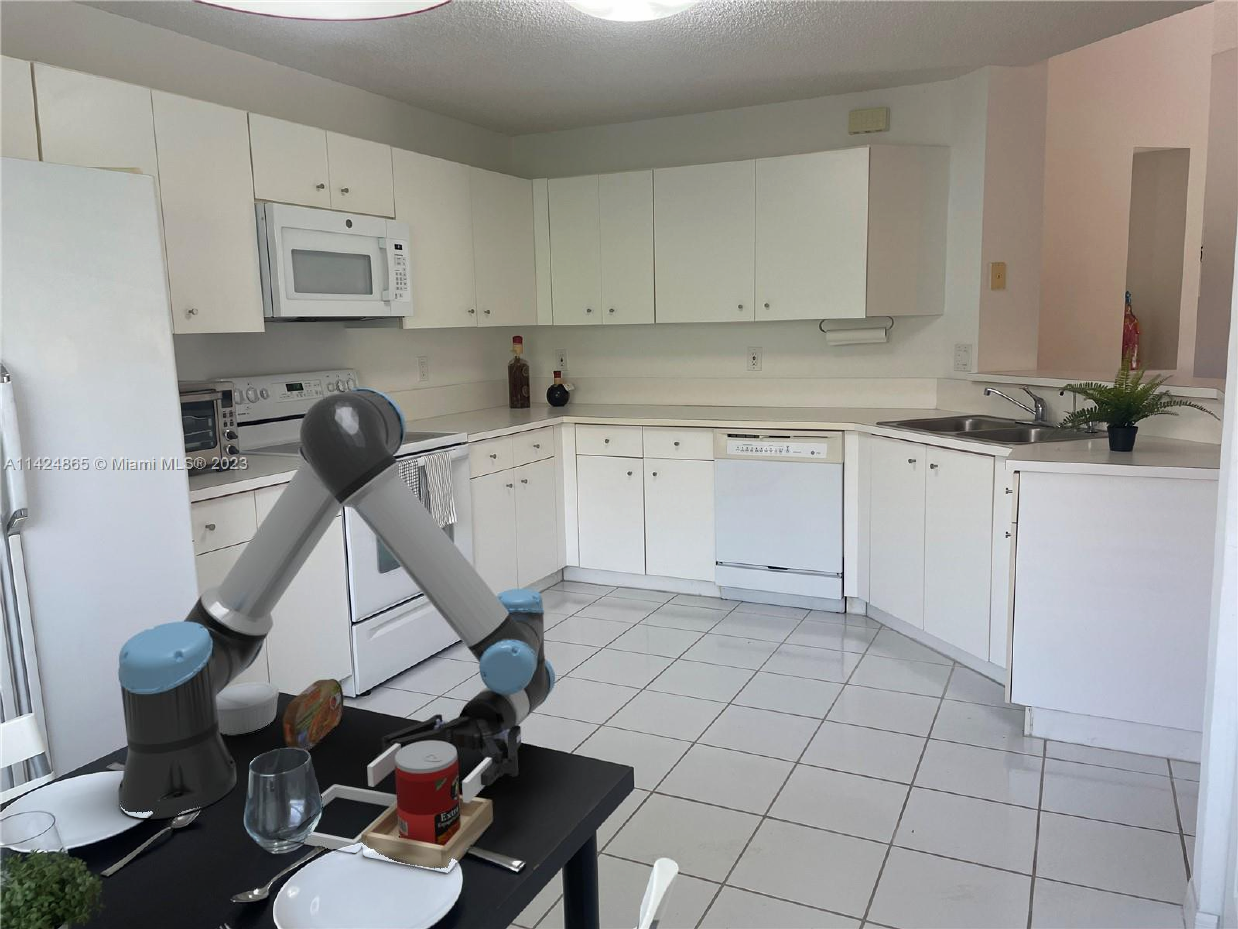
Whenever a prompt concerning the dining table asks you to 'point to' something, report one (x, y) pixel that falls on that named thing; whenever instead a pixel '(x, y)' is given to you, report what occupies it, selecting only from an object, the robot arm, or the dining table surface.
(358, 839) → the grey plastic frame
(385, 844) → the tray
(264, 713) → the ramekin
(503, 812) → the dining table surface
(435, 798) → the canned food
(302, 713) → the tin
